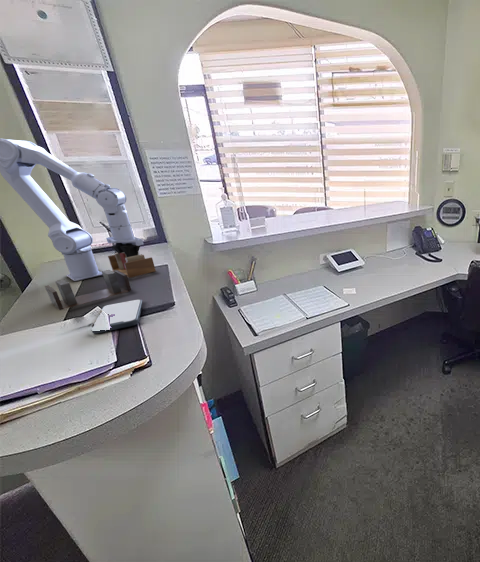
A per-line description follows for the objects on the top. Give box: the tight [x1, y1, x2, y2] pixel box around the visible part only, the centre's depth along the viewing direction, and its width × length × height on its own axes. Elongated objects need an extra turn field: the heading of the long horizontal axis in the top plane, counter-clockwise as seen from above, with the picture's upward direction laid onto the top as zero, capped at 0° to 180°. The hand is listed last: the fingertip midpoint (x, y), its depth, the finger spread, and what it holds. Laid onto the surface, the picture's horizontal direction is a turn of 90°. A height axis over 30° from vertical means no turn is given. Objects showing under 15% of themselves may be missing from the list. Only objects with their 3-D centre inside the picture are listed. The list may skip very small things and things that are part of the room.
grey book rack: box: [44, 269, 133, 311], centre depth 88 cm, size 16×8×7 cm, turn 145°
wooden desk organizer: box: [107, 252, 157, 279], centre depth 110 cm, size 16×8×7 cm, turn 55°
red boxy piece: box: [119, 252, 140, 270], centre depth 109 cm, size 2×5×6 cm, turn 163°
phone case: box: [91, 298, 143, 334], centre depth 78 cm, size 9×2×16 cm
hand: (131, 263), depth 110 cm, fingers closed on red boxy piece, 2 cm apart
